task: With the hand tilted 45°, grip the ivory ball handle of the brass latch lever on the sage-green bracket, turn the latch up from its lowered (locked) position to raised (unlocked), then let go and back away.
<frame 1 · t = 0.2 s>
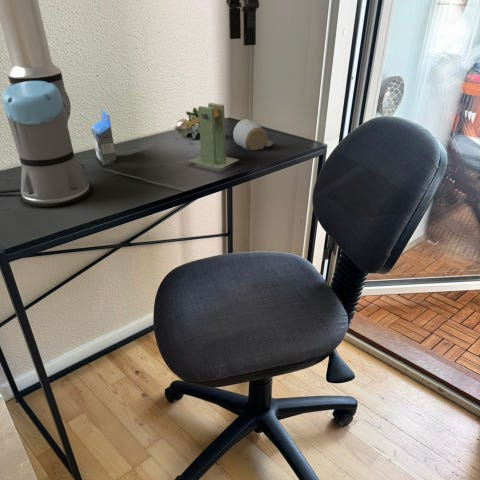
hand: (242, 42, 114), 28 cm above the table, tool pointing down, fingers open, 13 cm apart
ceramic mug: (254, 149, 137), on the table
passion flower: (199, 141, 145), on the table
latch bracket: (214, 164, 127), on the table
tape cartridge: (107, 161, 131), on the table
latch: (196, 120, 123), point 11 cm above the table, hinge at -25.0°
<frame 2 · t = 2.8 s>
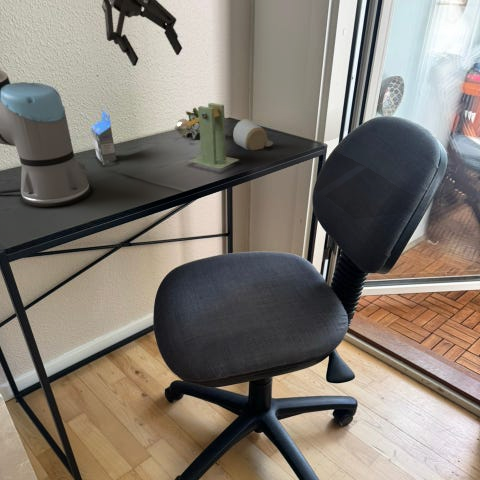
hand: (158, 57, 121), 24 cm above the table, tool tilted 40°, fingers open, 13 cm apart
nothing on the table moved.
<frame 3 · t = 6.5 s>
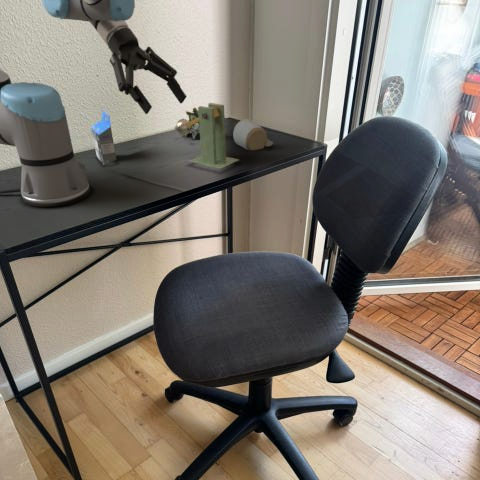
hand: (166, 105, 126), 13 cm above the table, tool tilted 45°, fingers open, 13 cm apart
nothing on the table moved.
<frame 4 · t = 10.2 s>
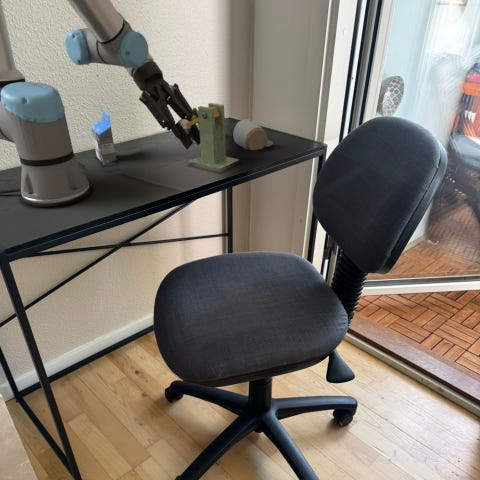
hand: (195, 143, 127), 5 cm above the table, tool tilted 45°, fingers closed on latch, 4 cm apart
latch: (196, 120, 123), point 11 cm above the table, hinge at -25.0°, touching gripper
everything else where it was.
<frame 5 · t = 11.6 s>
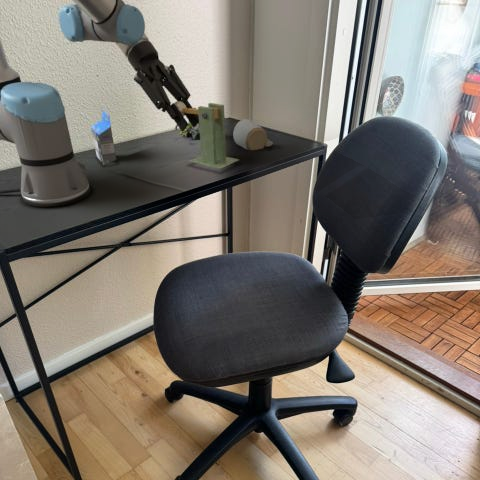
hand: (191, 125, 125), 9 cm above the table, tool tilted 45°, fingers closed on latch, 4 cm apart
latch: (194, 111, 122), point 13 cm above the table, hinge at -2.0°, touching gripper
everything else where it was.
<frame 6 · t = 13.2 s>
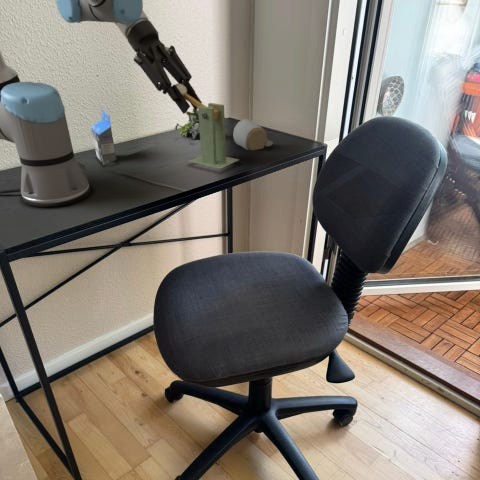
hand: (192, 108, 122), 14 cm above the table, tool tilted 45°, fingers closed on latch, 4 cm apart
latch: (194, 102, 120), point 15 cm above the table, hinge at 20.9°, touching gripper
everything else where it was.
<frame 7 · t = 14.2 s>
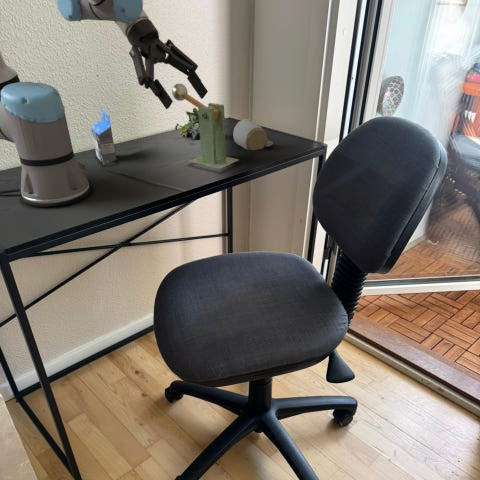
hand: (187, 100, 121), 15 cm above the table, tool tilted 45°, fingers open, 13 cm apart
latch: (194, 102, 120), point 15 cm above the table, hinge at 20.7°
everything else where it was.
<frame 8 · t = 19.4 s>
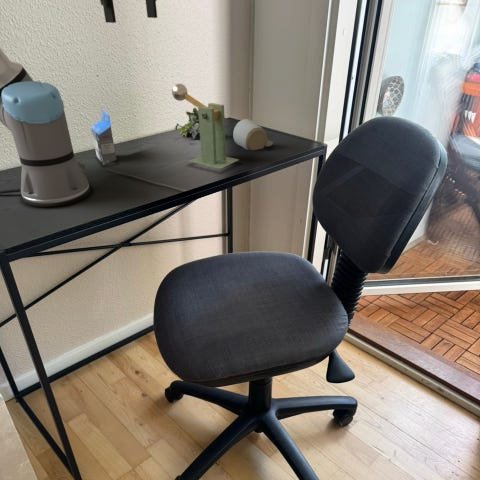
hand: (132, 20, 114), 33 cm above the table, tool pointing down, fingers open, 13 cm apart
nothing on the table moved.
at the end: latch at +21° (first picture: -25°); the gripper is holding nothing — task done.
